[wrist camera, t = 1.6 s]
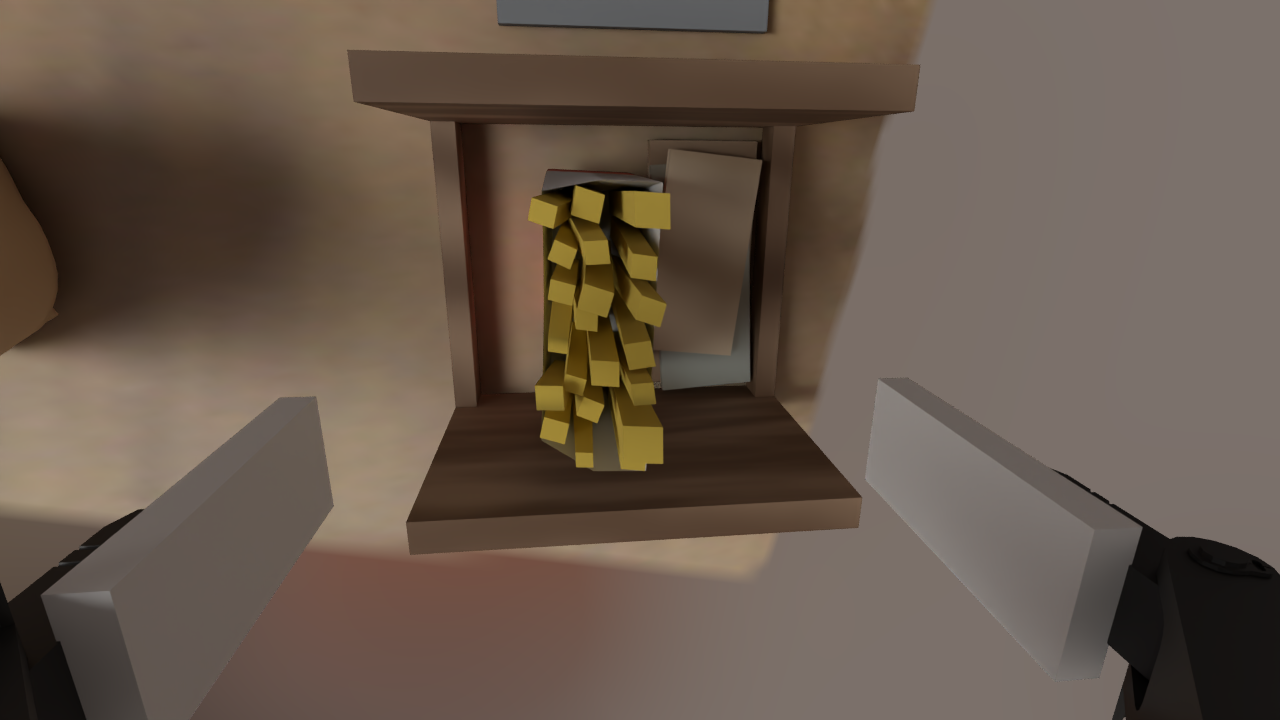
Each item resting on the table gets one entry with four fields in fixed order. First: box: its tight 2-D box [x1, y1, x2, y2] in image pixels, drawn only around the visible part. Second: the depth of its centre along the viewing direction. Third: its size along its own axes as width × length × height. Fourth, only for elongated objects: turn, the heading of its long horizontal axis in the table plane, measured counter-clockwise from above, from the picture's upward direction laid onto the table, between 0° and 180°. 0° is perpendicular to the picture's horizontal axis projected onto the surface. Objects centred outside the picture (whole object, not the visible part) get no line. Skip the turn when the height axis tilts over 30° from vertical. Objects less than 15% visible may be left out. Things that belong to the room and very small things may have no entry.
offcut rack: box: [347, 50, 920, 555], centre depth 30 cm, size 18×19×14 cm
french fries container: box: [528, 169, 671, 471], centre depth 28 cm, size 5×11×18 cm, turn 177°
